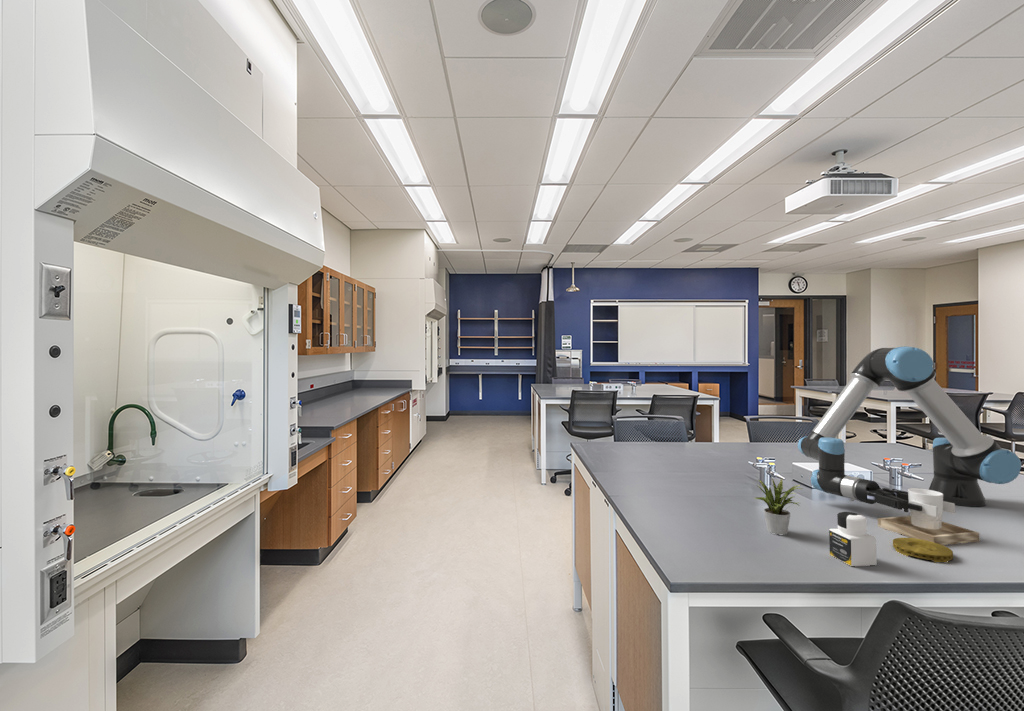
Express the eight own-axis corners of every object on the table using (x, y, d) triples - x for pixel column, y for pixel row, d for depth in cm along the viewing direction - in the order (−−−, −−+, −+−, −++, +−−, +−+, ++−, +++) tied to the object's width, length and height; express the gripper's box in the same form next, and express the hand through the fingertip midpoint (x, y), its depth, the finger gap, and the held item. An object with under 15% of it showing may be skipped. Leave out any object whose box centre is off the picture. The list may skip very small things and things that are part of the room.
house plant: (813, 545, 128) (812, 486, 129) (757, 539, 133) (756, 482, 134) (801, 528, 142) (799, 475, 142) (750, 523, 147) (750, 471, 147)
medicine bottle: (828, 555, 122) (828, 509, 122) (854, 554, 123) (853, 509, 123) (851, 567, 115) (849, 518, 115) (877, 565, 115) (876, 517, 116)
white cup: (936, 532, 131) (936, 497, 132) (903, 523, 138) (902, 490, 139) (949, 527, 135) (948, 493, 135) (915, 519, 142) (915, 487, 142)
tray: (919, 522, 146) (919, 514, 146) (979, 541, 130) (979, 532, 130) (877, 526, 143) (877, 518, 143) (933, 546, 127) (933, 537, 127)
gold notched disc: (890, 554, 123) (890, 546, 123) (895, 541, 131) (895, 534, 131) (952, 568, 114) (952, 559, 114) (953, 554, 123) (953, 545, 123)
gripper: (881, 497, 157) (966, 518, 136) (840, 504, 150) (924, 527, 129) (880, 475, 157) (966, 493, 136) (840, 481, 150) (923, 500, 129)
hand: (945, 510), depth 132 cm, fingers closed on white cup, 8 cm apart
